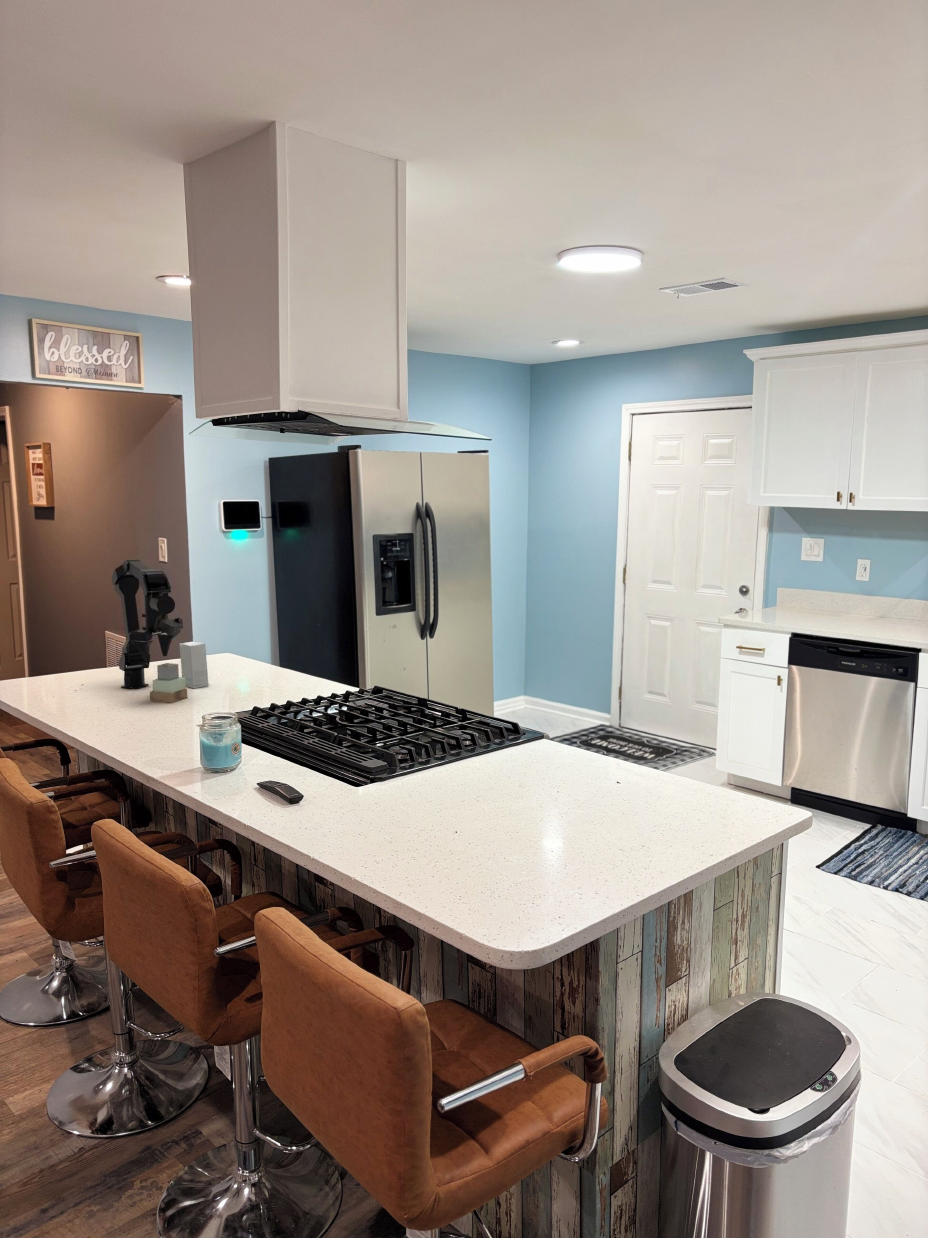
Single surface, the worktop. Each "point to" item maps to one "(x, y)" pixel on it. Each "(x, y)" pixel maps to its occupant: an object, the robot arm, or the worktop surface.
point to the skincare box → (194, 664)
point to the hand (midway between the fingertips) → (156, 658)
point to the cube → (168, 671)
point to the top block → (169, 685)
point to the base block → (168, 696)
